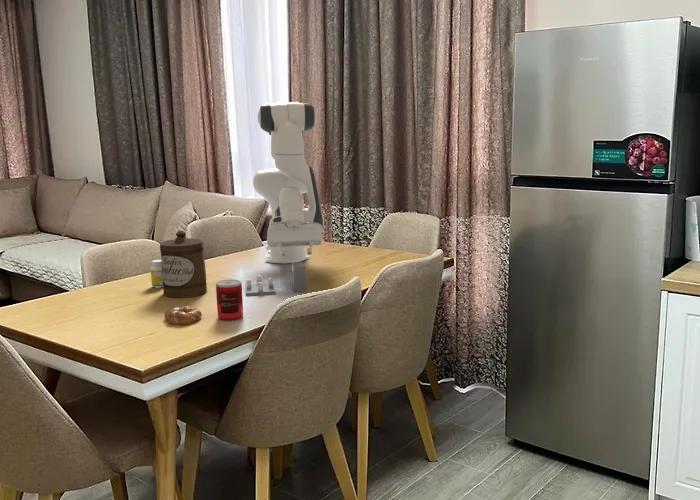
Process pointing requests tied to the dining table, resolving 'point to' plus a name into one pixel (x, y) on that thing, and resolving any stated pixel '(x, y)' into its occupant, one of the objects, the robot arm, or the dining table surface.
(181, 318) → the pretzel
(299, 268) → the block
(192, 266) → the wooden container
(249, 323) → the dining table surface
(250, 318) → the dining table surface
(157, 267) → the supplement bottle
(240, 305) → the canned food
